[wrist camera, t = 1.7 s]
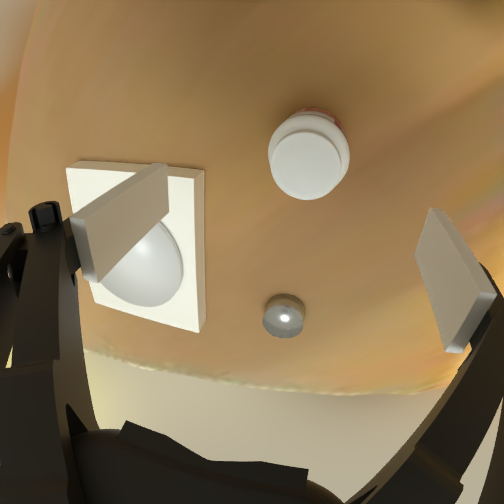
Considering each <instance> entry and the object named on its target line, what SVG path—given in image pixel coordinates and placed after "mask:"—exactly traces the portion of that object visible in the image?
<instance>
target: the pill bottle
mask: <svg viewBox="0 0 504 504" xmlns="http://www.w3.org/2000/svg"><path fill="white" fill-rule="evenodd" d="M268 159H269V163H270V167H271V172H272V176H273V178H274V180H275V182H276V184H277V185H278V186H279V187H280V188H281V189H282V190H283V191H284V192H285V193H286V194H288V195H290V196H292V197H295V198H298V199H302V200H312V199H317V198H320V197H323V196H324V195H326V194H328V193H329V192H330V191H331V190H332V189H333V188H334V187H335V186H336V185H337V184H338V183H339V182H340V181H341V180H342V179H343V177H344V176H345V174H346V172H347V169H348V166H349V161H350V151H349V146H348V142H347V139H346V136H345V133H344V130H343V127H342V125H341V124H340V122H339V121H338V119H337V118H336V117H335V116H334V115H332V114H331V113H329V112H328V111H325V110H323V109H319V108H305V109H302V110H299V111H297V112H295V113H294V114H292V115H291V116H290V117H288V118H287V119H286V120H285V121H284V122H283V123H282V124H281V125H280V126H279V127H278V128H277V129H276V130H275V132H274V133H273V135H272V137H271V139H270V142H269V147H268Z"/></svg>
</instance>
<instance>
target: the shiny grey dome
mask: <svg viewBox="0 0 504 504" xmlns="http://www.w3.org/2000/svg"><path fill="white" fill-rule="evenodd" d="M304 316H305V306H304V304H303V302H302V301H301V300H300V299H299V298H297V297H295V296H293V295H289V294H279V295H276V296H274V297H272V298H271V299H270V300H269V302H268V304H267V308H266V311H265V314H264V318H263V326H264V328H265V329H266V330H267V331H268V332H269V333H270V334H272V335H273V336H276V337H279V338H292V337H295V336H297V335H298V334H299V333H300V332H301V331H302V328H303V322H304Z"/></svg>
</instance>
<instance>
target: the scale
mask: <svg viewBox="0 0 504 504" xmlns="http://www.w3.org/2000/svg"><path fill="white" fill-rule="evenodd" d="M148 166H149V165H147V164H134V163H119V162H101V161H79V162H77V163H75V164H73V165H71V166H69V167H67V168H66V173H67V180H68V187H69V193H70V199H71V204H72V210H73V214H74V213H76V212H77V211H79V210H80V209H81V208H83V207H84V206H86V205H87V204H89V203H90V202H92V201H93V200H95V199H96V198H98V197H99V196H101V195H102V194H104V193H105V192H107V191H109V190H110V189H112V188H113V187H115V186H116V185H118V184H120V183H121V182H123V181H124V180H126V179H128V178H129V177H131V176H133V175H134V174H136V173H137V172H139V171H141V170H142V169H144V168H146V167H148ZM167 167H168V196H169V213H168V214H167V215H166V216H165V217H164V218H163V219H162V220H161V221H159V222H158V223H157V224H156V225H155V226H154V227H153V228H152V229H151V230H150V231H149V232H148V233H147V234H146V235H145V236H144V237H143V238H142V239H141V240H140V241H139V242H138V243H137V244H136V245H135V246H134V247H133V248H132V249H131V250H130V251H129V252H128V253H127V254H126V255H125V256H124V257H123V258H122V259H121V260H120V261H119V262H118V263H117V264H116V265H115V266H114V267H113V269H112V270H111V271H110V272H109V273H108V274H107V275H106V276H105V277H104V278H103V279H102V280H101V281H100V282H99V283H95V282H92V281H89V283H90V286H91V290H92V293H93V297H94V300H95V303H98V304H101V305H104V306H107V307H110V308H114V309H117V310H120V311H123V312H126V313H129V314H132V315H136V316H139V317H142V318H146V319H149V320H152V321H156V322H159V323H163V324H167V325H170V326H174V327H178V328H182V329H185V330H189V331H193V332H197V333H199V332H200V330H201V328H202V326H203V324H204V322H205V320H206V298H205V250H204V178H205V170H200V169H191V168H181V167H170V166H167Z"/></svg>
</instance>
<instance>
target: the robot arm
mask: <svg viewBox="0 0 504 504" xmlns="http://www.w3.org/2000/svg"><path fill="white" fill-rule="evenodd" d="M28 213H29V217H30V221H31V225H32V229H33V233H24V231H23V227H22V224H21V223H19V222H14V223H8V224H5V225H4V226H3V227H2V228H0V504H455V503H456V501H457V500H458V498H459V496H460V495H461V493H462V491H463V486H464V485H463V484H461V483H460V479H461V477H462V475H463V474H464V472H465V471H466V469H467V467H468V466H469V464H470V462H471V460H472V459H473V457H474V455H475V453H476V452H477V449H478V448H479V446H480V444H481V442H482V440H483V438H484V437H485V435H486V433H487V431H488V429H489V427H490V424H491V422H492V420H493V418H494V416H495V414H496V411H497V409H498V407H499V405H500V402H501V400H502V398H503V403H502V409H501V415H500V422H499V427H498V432H497V437H496V441H495V446H494V450H493V455H492V458H491V462H490V466H489V470H488V474H487V477H486V480H485V483H484V487H483V490H482V493H481V496H480V499H479V502H478V504H504V298H503V296H502V294H501V292H500V291H499V289H498V287H497V286H496V284H495V282H494V280H493V279H492V277H491V275H490V273H489V272H488V270H487V269H486V268H485V267H484V266H483V265H482V264H481V263H480V262H478V261H477V259H476V257H475V256H474V254H473V253H472V251H471V250H470V248H469V246H468V245H467V243H466V242H465V240H464V239H463V237H462V236H461V234H460V233H459V231H458V230H457V229H456V227H455V226H454V224H453V223H452V221H451V220H450V219H449V217H448V216H447V214H446V213H445V212H444V210H442V209H438V208H434V207H430V208H429V211H428V215H427V218H426V221H425V224H424V227H423V230H422V233H421V236H420V239H419V242H418V245H417V248H416V251H415V253H414V257H415V259H416V262H417V265H418V267H419V270H420V273H421V276H422V278H423V281H424V284H425V287H426V290H427V293H428V296H429V299H430V302H431V305H432V308H433V312H434V315H435V318H436V321H437V325H438V328H439V332H440V335H441V339H442V343H443V346H444V350H445V352H451V353H462V352H463V350H464V349H465V347H466V346H467V344H468V343H469V342H470V345H471V348H472V350H471V352H470V353H469V355H468V356H467V358H466V359H465V360H464V362H463V363H462V365H461V366H460V367H459V369H458V372H457V374H456V375H455V377H454V379H453V380H452V382H451V383H450V385H449V386H448V388H447V389H446V390H445V392H444V394H443V395H442V396H441V398H440V399H439V400H438V402H437V403H436V405H435V406H434V408H433V409H432V410H431V411H430V413H429V414H428V415H427V417H426V418H425V419H424V421H423V422H422V423H421V424H420V426H419V427H418V428H417V429H416V431H415V432H414V433H413V435H412V436H411V437H410V438H409V439H408V440H407V442H406V443H405V444H404V445H403V446H402V448H401V449H400V450H399V451H398V452H397V453H396V454H395V455H394V456H393V458H392V459H391V460H390V461H389V462H388V463H387V464H386V465H385V466H384V467H383V468H382V469H381V470H380V471H379V473H377V475H376V476H375V477H374V478H373V479H372V480H371V481H370V482H369V483H367V484H366V485H365V486H364V487H363V488H362V489H361V490H360V491H359V492H357V493H356V494H355V495H354V496H352V497H351V498H350V499H349V500H348V501H346V502H345V503H343V502H342V501H341V500H340V499H339V498H338V497H337V496H335V495H334V494H333V493H332V492H330V491H329V490H327V489H326V488H324V487H322V486H320V485H318V484H316V483H314V482H312V481H310V480H307V476H308V469H304V468H297V467H290V466H284V465H278V464H273V463H267V462H262V461H255V462H254V461H253V462H236V461H235V462H234V461H211V460H207V459H205V458H203V457H201V456H200V455H198V454H196V453H194V452H192V451H191V450H189V449H187V448H186V447H184V446H182V445H181V444H179V443H177V442H176V441H174V440H173V439H171V438H170V437H168V436H166V435H164V434H161V433H158V432H155V431H152V430H150V429H147V428H144V427H142V426H139V425H137V424H134V423H132V422H129V421H127V420H126V422H125V423H124V425H123V427H122V429H121V430H119V429H99V426H98V424H97V421H96V419H95V415H94V410H93V406H92V401H91V396H90V390H89V385H88V379H87V373H86V366H85V359H84V352H83V344H82V336H81V326H80V315H79V302H78V285H77V277H76V274H75V272H76V271H77V270H78V269H79V268H80V267H81V270H82V273H83V277H84V279H85V280H88V281H92V282H95V283H99V282H100V281H101V280H102V279H103V278H104V277H105V276H106V275H107V274H108V273H109V272H110V271H111V270H112V269H113V267H114V266H115V265H116V264H117V263H118V262H119V261H120V260H121V259H122V258H123V257H124V256H125V255H126V254H127V253H128V252H129V251H130V250H131V249H132V248H133V247H134V246H135V245H136V244H137V243H138V242H139V241H140V240H141V239H142V238H143V237H144V236H145V235H146V234H147V233H148V232H149V231H150V230H151V229H152V228H153V227H154V226H155V225H156V224H157V223H158V222H159V221H161V220H162V219H163V218H164V217H165V216H166V215H167V214H168V213H169V196H168V167H167V163H153V164H151V165H149V166H148V167H146V168H144V169H142V170H141V171H139V172H137V173H136V174H134V175H133V176H131V177H129V178H128V179H126V180H124V181H123V182H121V183H120V184H118V185H116V186H115V187H113V188H112V189H110V190H109V191H107V192H105V193H104V194H102V195H101V196H99V197H98V198H96V199H95V200H93V201H92V202H90V203H89V204H87V205H86V206H84V207H83V208H81V209H80V210H79V211H77V212H76V213H74V214H73V215H71V216H70V217H69V218H67V219H66V220H64V221H62V216H61V211H60V206H59V203H58V202H56V201H47V202H43V203H40V204H38V205H35V206H34V207H32V208H31V209H30V210H29V212H28ZM8 273H9V276H10V277H9V276H8ZM12 346H13V350H12V365H11V367H10V368H6V364H7V361H8V358H9V355H10V352H11V348H12Z"/></svg>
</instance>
